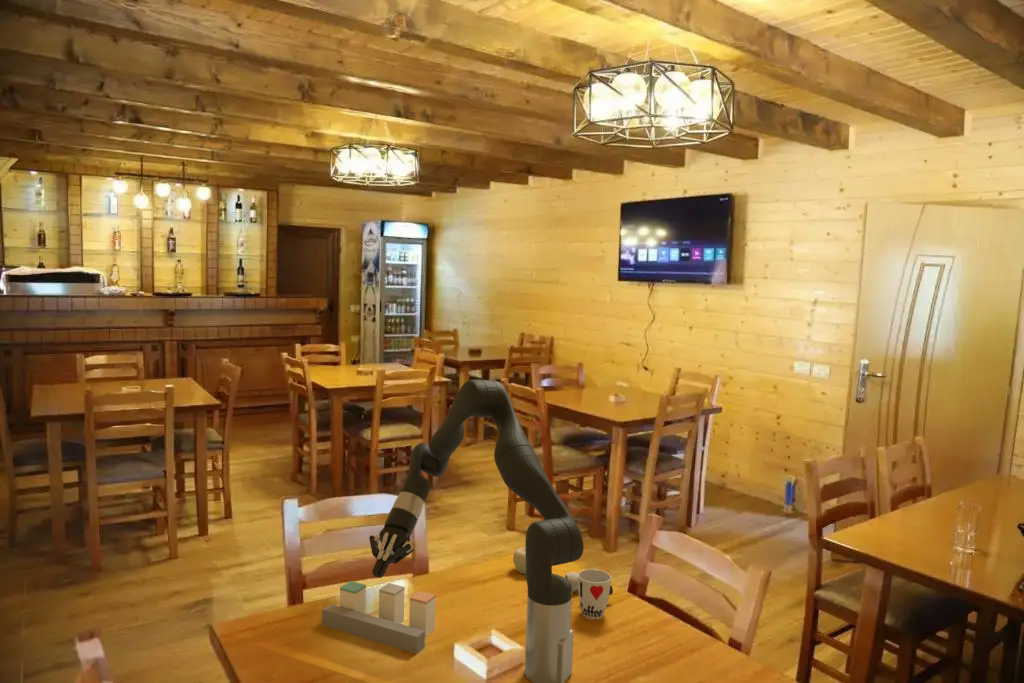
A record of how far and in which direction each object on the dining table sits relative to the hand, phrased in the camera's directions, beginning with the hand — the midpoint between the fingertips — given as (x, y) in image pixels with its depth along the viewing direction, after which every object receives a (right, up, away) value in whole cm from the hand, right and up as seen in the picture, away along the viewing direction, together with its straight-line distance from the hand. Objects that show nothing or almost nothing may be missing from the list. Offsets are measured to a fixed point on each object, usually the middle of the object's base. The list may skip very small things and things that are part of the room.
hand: (376, 576), depth 175 cm
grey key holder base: (+5, -9, -9) cm, 14 cm away
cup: (+54, -10, +1) cm, 54 cm away
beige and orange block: (+13, -9, -12) cm, 20 cm away
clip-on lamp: (+50, -9, +10) cm, 51 cm away
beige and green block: (-4, -8, -8) cm, 12 cm away
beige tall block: (+5, -8, -8) cm, 13 cm away
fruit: (+37, -7, +25) cm, 46 cm away
